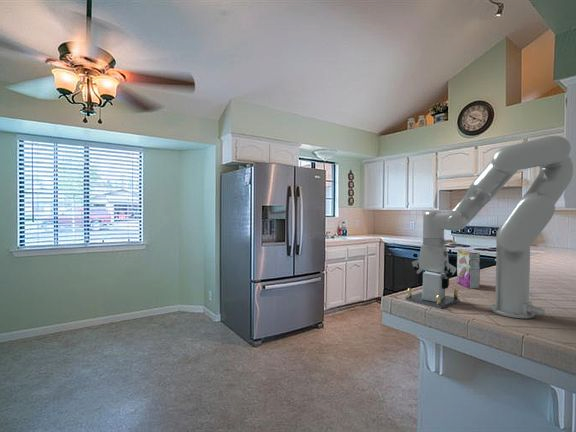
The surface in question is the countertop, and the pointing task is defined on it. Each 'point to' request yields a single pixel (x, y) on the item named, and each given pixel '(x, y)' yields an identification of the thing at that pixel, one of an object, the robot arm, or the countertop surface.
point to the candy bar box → (468, 268)
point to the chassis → (439, 304)
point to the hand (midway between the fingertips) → (432, 285)
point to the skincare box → (432, 286)
